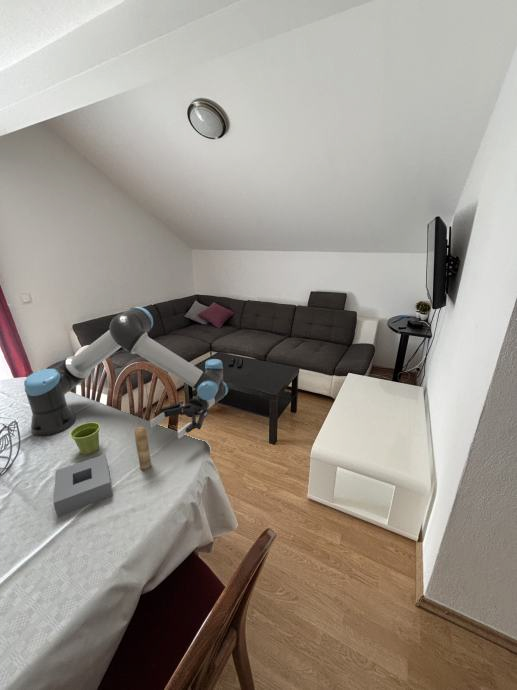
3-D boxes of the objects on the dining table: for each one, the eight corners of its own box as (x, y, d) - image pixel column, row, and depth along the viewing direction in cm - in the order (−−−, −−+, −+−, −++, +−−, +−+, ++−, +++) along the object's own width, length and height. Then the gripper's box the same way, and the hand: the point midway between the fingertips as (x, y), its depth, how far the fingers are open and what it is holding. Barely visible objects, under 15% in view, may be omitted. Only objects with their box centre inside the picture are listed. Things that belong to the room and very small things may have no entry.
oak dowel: (139, 465, 98) (133, 428, 93) (150, 461, 99) (144, 425, 95) (141, 472, 95) (135, 434, 90) (152, 467, 97) (147, 431, 92)
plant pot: (91, 460, 100) (86, 439, 97) (68, 456, 102) (63, 436, 99) (109, 443, 109) (105, 423, 106) (88, 439, 110) (84, 420, 108)
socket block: (59, 482, 90) (55, 470, 89) (108, 466, 97) (105, 454, 96) (57, 516, 79) (53, 502, 77) (112, 494, 86) (110, 482, 84)
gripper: (226, 418, 116) (191, 449, 98) (180, 402, 127) (141, 428, 109) (225, 402, 113) (190, 430, 95) (178, 388, 124) (139, 411, 106)
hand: (164, 429), depth 102 cm, fingers open, 13 cm apart
